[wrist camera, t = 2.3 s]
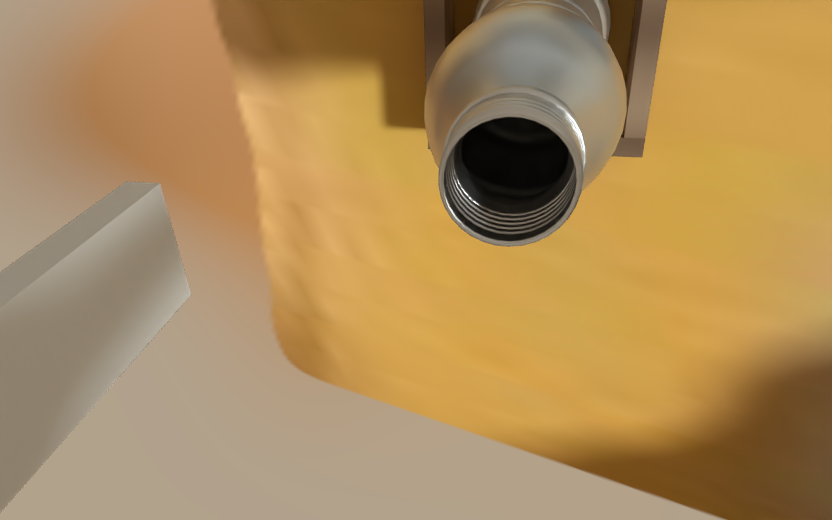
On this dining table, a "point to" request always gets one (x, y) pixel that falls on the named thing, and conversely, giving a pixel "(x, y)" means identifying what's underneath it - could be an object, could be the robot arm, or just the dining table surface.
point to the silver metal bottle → (524, 115)
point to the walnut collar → (637, 74)
